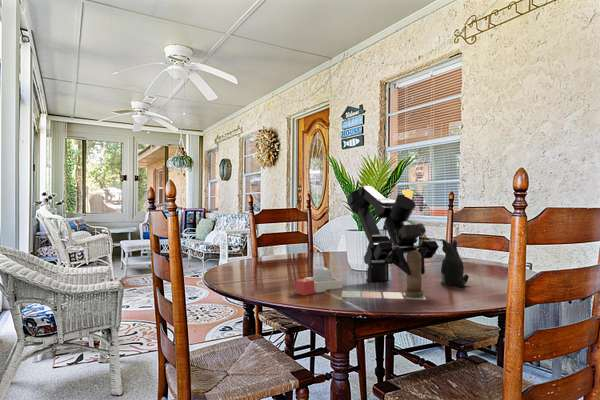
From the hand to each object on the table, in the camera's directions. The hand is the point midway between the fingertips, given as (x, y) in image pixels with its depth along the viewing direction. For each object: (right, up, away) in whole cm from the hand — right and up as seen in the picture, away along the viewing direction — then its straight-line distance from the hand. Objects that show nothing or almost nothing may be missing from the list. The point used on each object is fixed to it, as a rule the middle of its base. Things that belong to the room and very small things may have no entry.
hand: (416, 274), depth 108 cm
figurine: (+18, -7, +18) cm, 27 cm away
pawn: (0, -6, +1) cm, 6 cm away
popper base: (-26, -7, +15) cm, 30 cm away
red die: (-32, -7, +8) cm, 33 cm away
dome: (-26, -6, +15) cm, 30 cm away
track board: (-9, -7, +3) cm, 12 cm away
